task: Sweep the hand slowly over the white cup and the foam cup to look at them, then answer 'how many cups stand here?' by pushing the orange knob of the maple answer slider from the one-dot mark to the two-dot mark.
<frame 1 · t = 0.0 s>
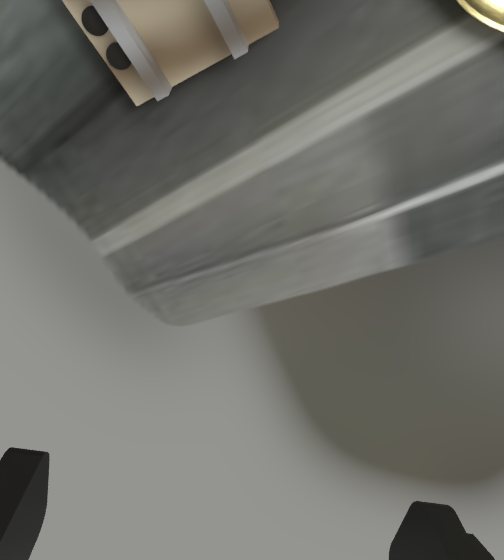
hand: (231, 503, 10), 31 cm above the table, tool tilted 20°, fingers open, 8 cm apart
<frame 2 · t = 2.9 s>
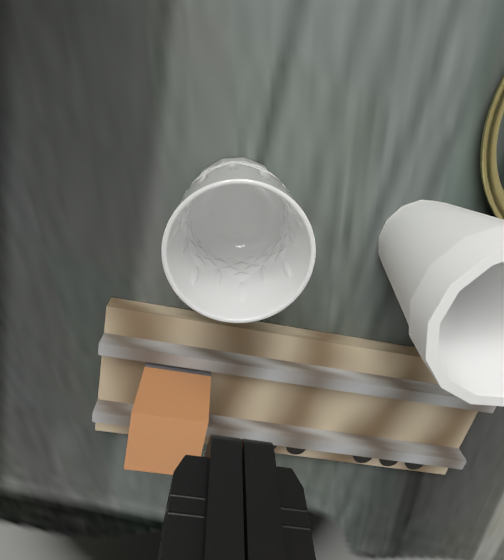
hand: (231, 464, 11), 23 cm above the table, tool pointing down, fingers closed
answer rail: (293, 388, 39), on the table
foam cup: (418, 240, 34), on the table
white cup: (236, 204, 32), on the table
answer slider: (171, 412, 33), point 5 cm above the table, slide at -10.0 cm
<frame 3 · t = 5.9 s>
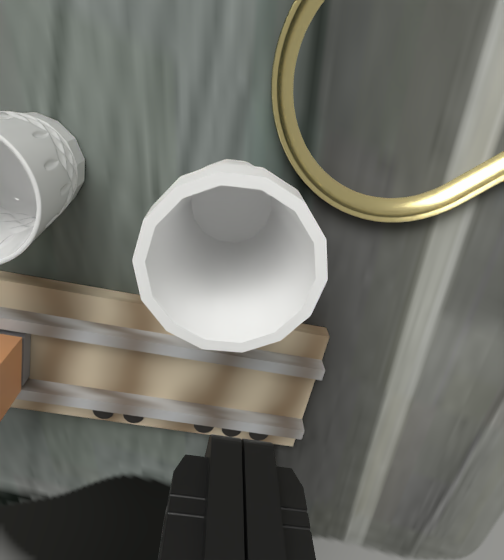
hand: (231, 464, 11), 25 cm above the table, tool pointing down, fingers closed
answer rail: (128, 356, 39), on the table
foam cup: (231, 201, 34), on the table
white cup: (38, 161, 32), on the table
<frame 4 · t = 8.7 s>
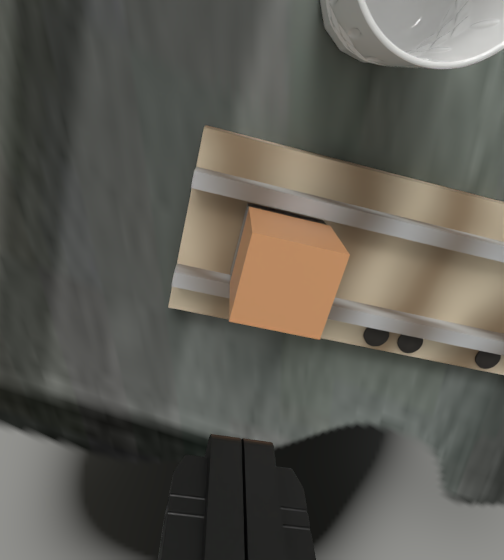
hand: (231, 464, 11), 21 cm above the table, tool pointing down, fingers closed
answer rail: (410, 269, 32), on the table
answer slider: (281, 265, 26), point 5 cm above the table, slide at -10.0 cm
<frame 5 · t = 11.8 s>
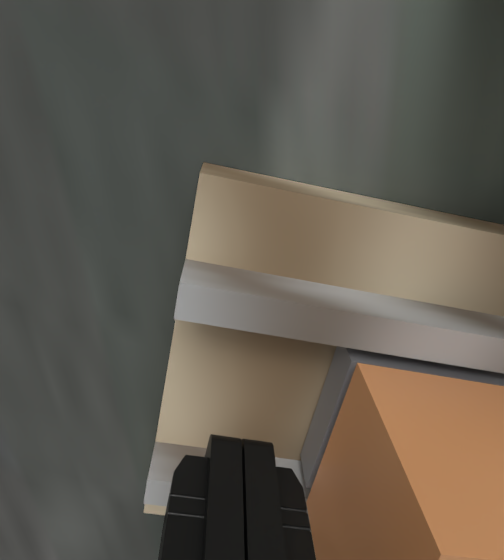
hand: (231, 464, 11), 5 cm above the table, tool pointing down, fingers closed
answer slider: (440, 501, 11), point 5 cm above the table, slide at -8.8 cm, touching gripper
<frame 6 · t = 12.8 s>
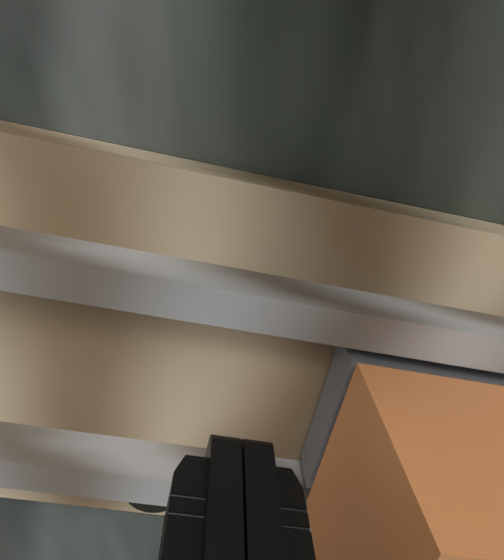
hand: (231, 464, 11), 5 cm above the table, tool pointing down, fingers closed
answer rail: (459, 390, 16), on the table
answer slider: (440, 501, 11), point 5 cm above the table, slide at -3.0 cm, touching gripper
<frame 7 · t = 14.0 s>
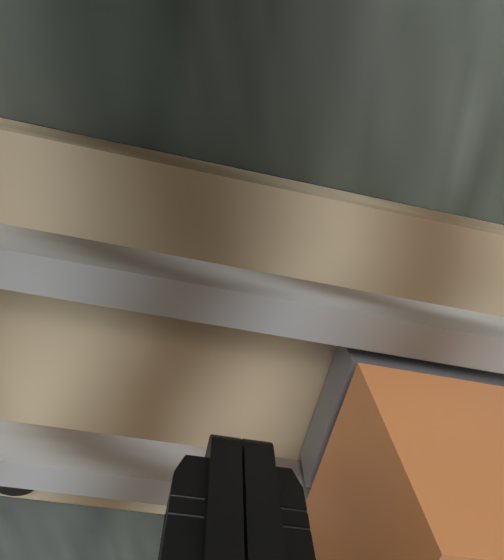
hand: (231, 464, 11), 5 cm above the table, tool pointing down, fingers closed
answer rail: (338, 371, 15), on the table
answer slider: (440, 501, 11), point 5 cm above the table, slide at 1.5 cm, touching gripper
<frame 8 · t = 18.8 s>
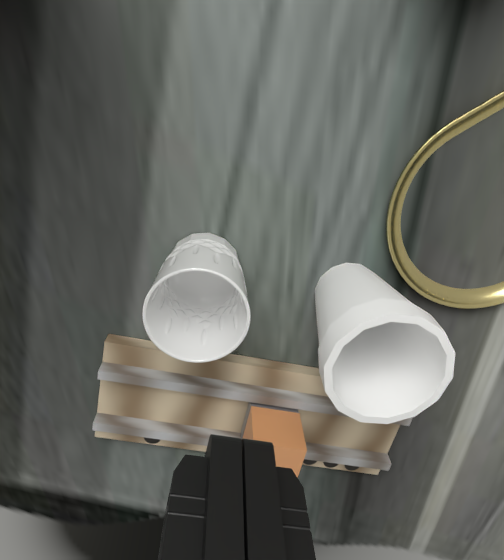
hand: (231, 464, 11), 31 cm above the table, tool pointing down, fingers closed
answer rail: (253, 405, 49), on the table
foam cup: (346, 291, 44), on the table
white cup: (204, 265, 42), on the table
answer slider: (271, 440, 45), point 5 cm above the table, slide at 1.6 cm
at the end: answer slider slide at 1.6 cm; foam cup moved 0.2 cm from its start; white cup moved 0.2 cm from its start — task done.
